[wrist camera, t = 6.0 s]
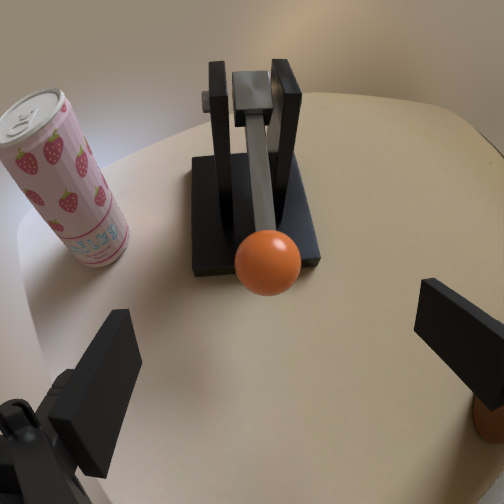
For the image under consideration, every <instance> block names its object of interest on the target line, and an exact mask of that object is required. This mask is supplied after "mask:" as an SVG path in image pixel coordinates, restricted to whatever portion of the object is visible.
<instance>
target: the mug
mask: <svg viewBox="0 0 504 504" xmlns="http://www.w3.org/2000/svg"><path fill="white" fill-rule="evenodd" d="M473 414H474V422H475V425H476V428H477V431H478V432H479V434H480V435H481V436H482V438H483V439H485V440H486V441H488V442H491V443H497V444H504V406H502V407H500V408H498V409H496V410H494V411H493V412H490V410H489V409H488V408H487V407H486V406H485V405H484V404H483V403H482V402H481V400H480V399H479V398H478V397H477V396H475V400H474V408H473Z"/></svg>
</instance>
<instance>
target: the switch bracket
mask: <svg viewBox="0 0 504 504" xmlns="http://www.w3.org/2000/svg"><path fill="white" fill-rule="evenodd" d="M270 83H271V90H272V97H273V104H274V110H273V113H272V117H271V121H270V125H268V127H267V149H268V158H269V167H270V176H271V185H272V195H273V205H274V214H275V224H276V231H279V232H282V233H284V234H285V235H287V236H288V237H289V238H291V239H292V240H293V242H294V243H295V244H296V246H297V248H298V250H299V253H300V257H301V268H302V267H312V266H317V265H318V263H319V261H320V258H321V256H320V252H319V248H318V243H317V239H316V235H315V231H314V227H313V222H312V218H311V214H310V210H309V206H308V202H307V198H306V195H305V191H304V187H303V183H302V179H301V176H300V172H299V168H298V165H297V161H296V157H295V154H294V145H295V138H296V132H297V125H298V119H299V112H300V107H301V103H302V92H301V90H300V88H299V85H298V83H297V81H296V78H295V76H294V74H293V71H292V69H291V67H290V65H289V63H288V60H287V59H272V67H271V82H270ZM202 109H203V112H204V113H210V115H211V126H212V136H213V147H214V155H212V156H201V157H192V184H191V234H192V270H193V273H194V276H195V277H202V276H214V275H226V274H236V270H235V255H236V252H237V249H238V247H239V246H240V244H241V243H242V241H243V240H244V239H245V238H246V237H248V236H249V235H251V234H252V233H254V223H253V212H252V201H251V190H250V179H249V169H248V158H247V153H237V154H230V134H229V111H228V92H227V82H226V72H225V62H224V61H214V62H209V91H203V92H202Z"/></svg>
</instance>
